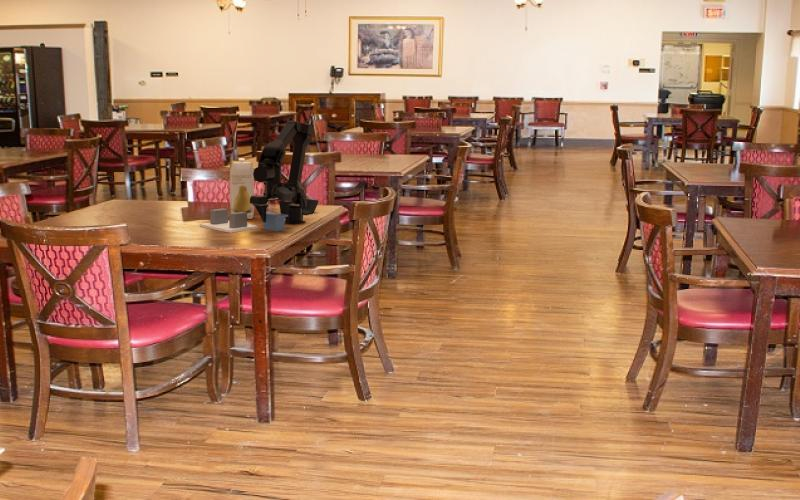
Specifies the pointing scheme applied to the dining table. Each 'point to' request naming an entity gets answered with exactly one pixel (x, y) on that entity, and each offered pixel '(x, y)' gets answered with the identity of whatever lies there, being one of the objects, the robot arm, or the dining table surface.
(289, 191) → the robot arm
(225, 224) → the plate
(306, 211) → the black tapered bin
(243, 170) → the juice carton
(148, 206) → the dining table surface
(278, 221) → the block
